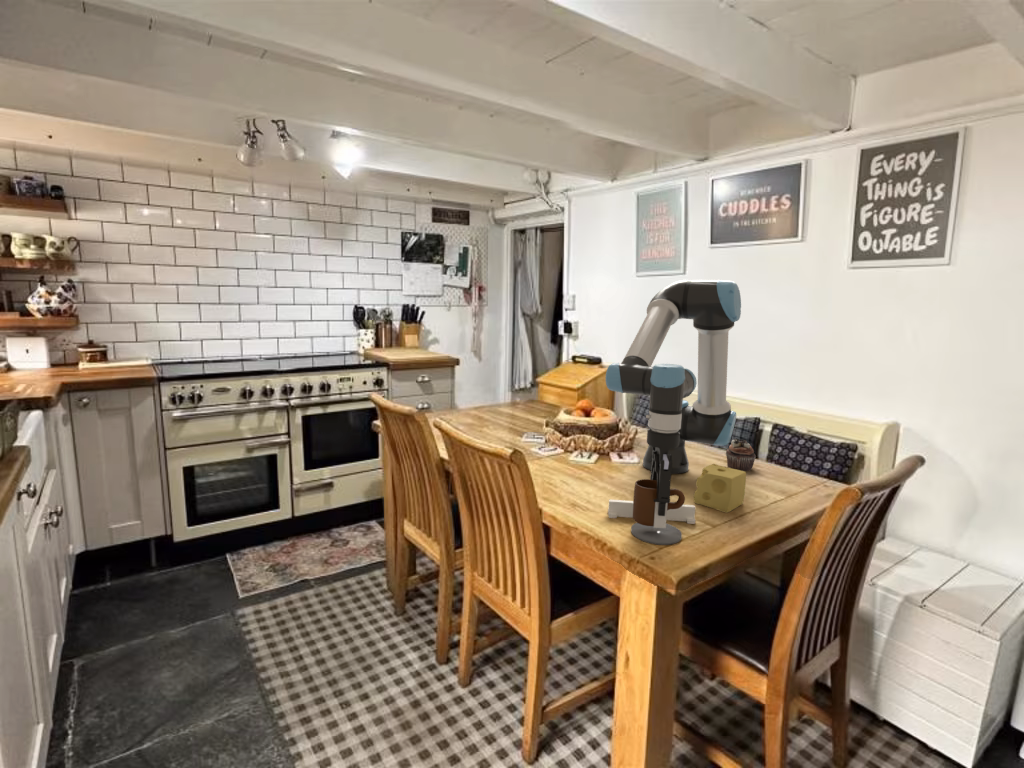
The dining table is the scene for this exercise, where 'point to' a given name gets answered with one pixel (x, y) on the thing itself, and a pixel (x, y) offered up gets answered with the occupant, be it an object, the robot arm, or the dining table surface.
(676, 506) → the mug
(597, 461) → the dining table surface
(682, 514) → the rail
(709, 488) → the cheese
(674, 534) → the disc
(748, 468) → the cupcake
